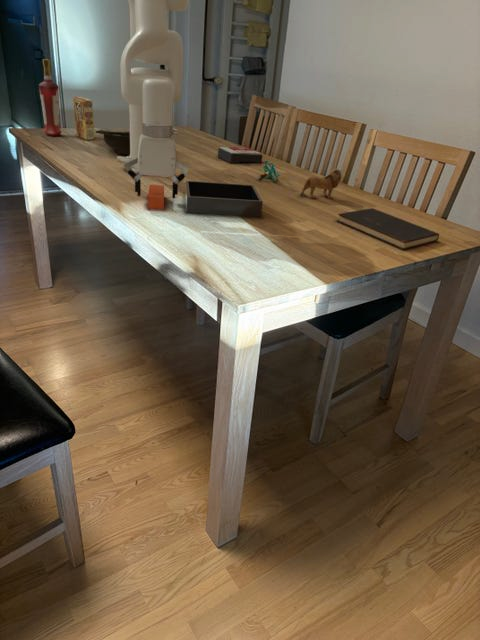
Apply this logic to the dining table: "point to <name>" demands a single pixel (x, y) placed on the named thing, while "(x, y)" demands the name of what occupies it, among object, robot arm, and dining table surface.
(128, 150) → the stone bowl
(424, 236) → the hardcover book
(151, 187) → the orange rectangular block
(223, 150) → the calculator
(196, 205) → the tray
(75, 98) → the candy box
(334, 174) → the lion figurine
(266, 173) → the stick construction toy
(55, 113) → the liquor
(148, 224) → the dining table surface
